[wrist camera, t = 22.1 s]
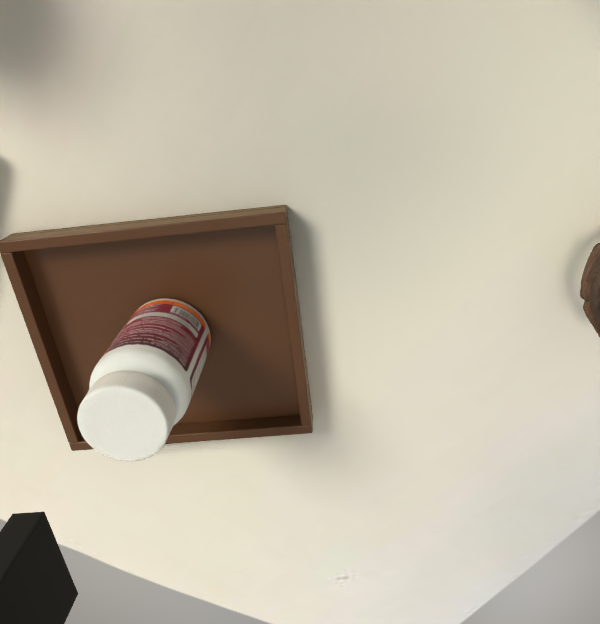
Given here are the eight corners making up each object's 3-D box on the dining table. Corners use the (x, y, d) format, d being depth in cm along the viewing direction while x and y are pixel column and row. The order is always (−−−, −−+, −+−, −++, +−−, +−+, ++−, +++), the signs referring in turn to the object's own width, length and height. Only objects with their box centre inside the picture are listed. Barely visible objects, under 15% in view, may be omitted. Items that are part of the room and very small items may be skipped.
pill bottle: (119, 304, 39) (47, 388, 28) (199, 288, 38) (155, 369, 28) (146, 375, 41) (90, 476, 31) (222, 361, 40) (190, 460, 30)
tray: (12, 233, 37) (-5, 242, 35) (286, 204, 36) (284, 212, 34) (81, 434, 44) (71, 451, 42) (312, 417, 43) (312, 433, 41)
